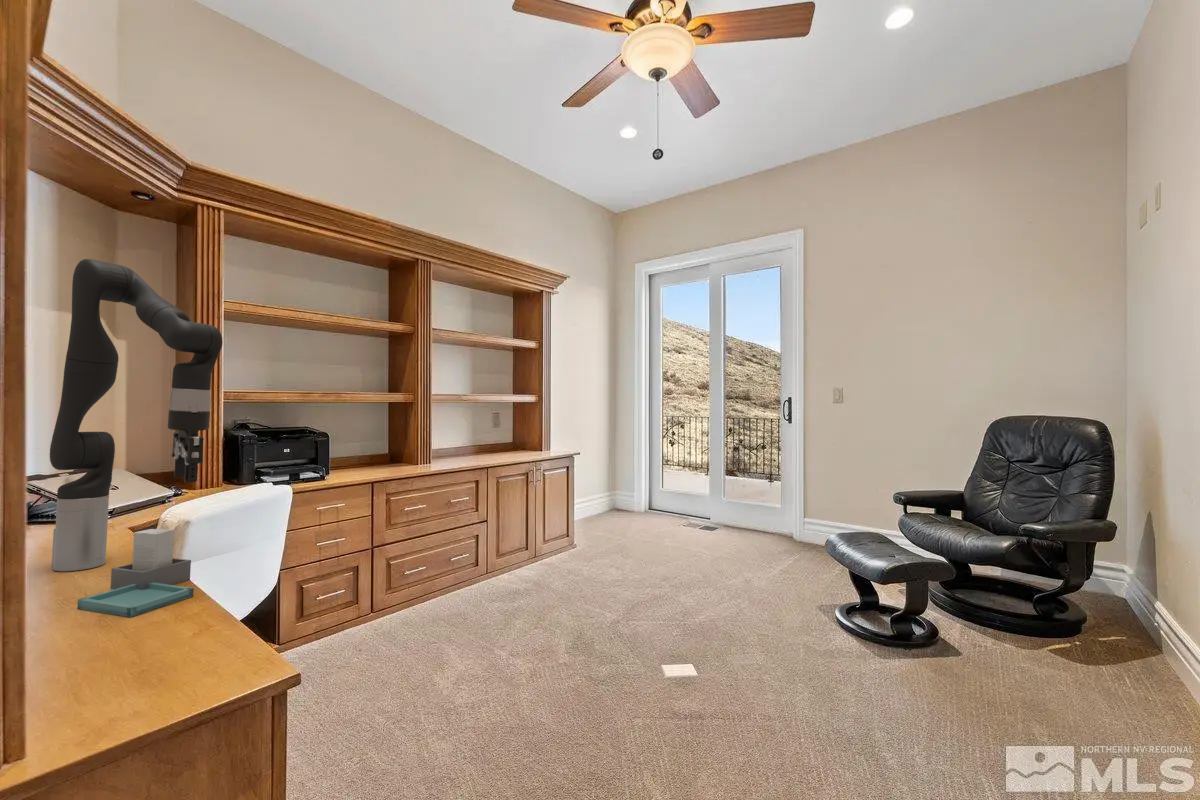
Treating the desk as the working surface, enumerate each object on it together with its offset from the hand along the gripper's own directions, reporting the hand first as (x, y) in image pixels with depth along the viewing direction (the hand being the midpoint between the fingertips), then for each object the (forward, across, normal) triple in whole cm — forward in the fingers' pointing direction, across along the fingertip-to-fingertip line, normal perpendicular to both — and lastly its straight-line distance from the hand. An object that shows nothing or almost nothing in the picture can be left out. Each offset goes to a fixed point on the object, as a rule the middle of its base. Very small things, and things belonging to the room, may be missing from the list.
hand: (185, 479), depth 120 cm
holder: (+24, -3, -4) cm, 24 cm away
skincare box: (+24, -3, -4) cm, 24 cm away
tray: (+23, +9, -9) cm, 27 cm away
